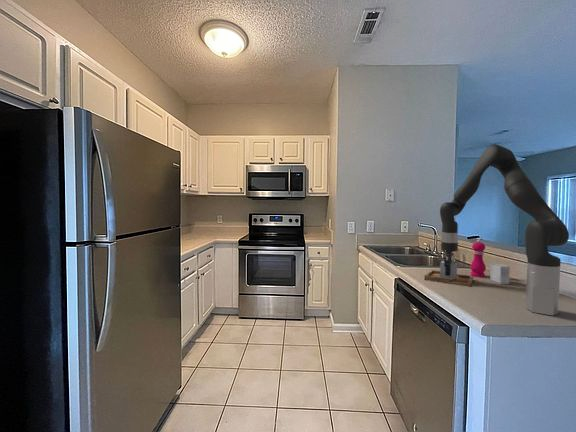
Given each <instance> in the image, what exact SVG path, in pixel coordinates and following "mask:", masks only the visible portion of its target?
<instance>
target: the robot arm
mask: <svg viewBox="0 0 576 432" xmlns="http://www.w3.org/2000/svg"><path fill="white" fill-rule="evenodd" d="M489 167H492V168H495V169H497V170H498V172H500V174H501V175H502V177H503V178H504V185H503V188H504V191H505V194H506V195H507V197H508V199H509V200H510V202H511V203H512V204H513V205H514V206H516V207H517V208H519V209H520V210H522V211H523V212H525V213H526V214H527V215H528V216H531V217H532V218H533V219H534V220H533V221H530V222H529V223H528V224H527V225H526V228H525V237H524V238H525V256H526V258H527V268H526V290H525V291H526V292H525V309H527V310H528V311H530V312H532V313H535V314H540V315H541V314H542V315H546V316H547V315H548V316H553V317H554V316H556V315H558V314H559V306H560V305H559V303H560V302H559V301H560V284H561V283H560V279H561V277H560V276H561V264H562V263H561V258H560V257H559V256H555V255H553V254H551V253H550V252H549V247H558V246H563V245H565V244H566V243H568V241H569V239H570V232H569V229H568V228H567V226H566V224H565V223H564V222H563V221H562V219H560V218H559V216H558V215H557V214H556V213H555V212H554V211H553V210H552V209H551V207H550V206H549V205H548V204H547V202H546V200H544V199H543V197H542V195H541V194H540V193H539V191H538V190H537V188H536V187H535V185H534V184H533V182H532V181H531V180H530V179H529V177H528V176H527V174H526V173H525V172H524V171H523V169H522V167H521V166H520V164H519V162H518V160H517V158H516V156H515V154H514V153H513V151H512V150H511V149H508V148H507V147H504V146H502V145H499V144H491V145H489V146H488V147H486V148H485V150H483V152H482V153H481V155H480V157H479V158H478V160H477V161H476V163H475V165H474V166H473V167H472V169H471V171H470V173H469V175H468V176H467V177H466V178H465V180H464V182H462V184H460V186H459V187H458V189H456V190H455V192H454V194H453V199H452V200H451V202H449V201H448V202H444V203H442V204H441V206H440V207H439V209H440V210H439V215H440V219H441V223H442V224H441V225H442V227H441V236H440V237H441V240H440V250H441V251H443V252H445V254H444V255H443V258H444V260H443V261H444V267H445V275H447V276H450V268H451V264H452V262H455V261H454V258H455V254H454V253H453V252H457V251H458V250H459V249H458V248H459V233H458V230H459V224H458V222H457V221H455V216H458V215H459V214H460V213H462V211H463V209H464V208H465V206H466V204H467V203H468V201H469V200H470V199H471V198H472V197H473V196H474V195H475V194H476V193H477V191H478V189H479V186H480V183H481V179H482V177H483V174H484V173H485V171H486V170H488V168H489ZM447 263H448V264H449V265H447Z"/></svg>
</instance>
